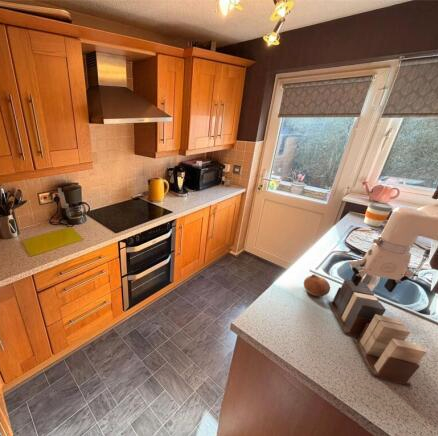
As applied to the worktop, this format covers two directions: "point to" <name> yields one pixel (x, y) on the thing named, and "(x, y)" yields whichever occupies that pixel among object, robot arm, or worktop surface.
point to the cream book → (353, 301)
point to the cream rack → (389, 349)
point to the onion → (316, 286)
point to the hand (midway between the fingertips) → (370, 286)
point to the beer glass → (370, 281)
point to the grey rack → (355, 307)
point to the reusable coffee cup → (377, 213)
